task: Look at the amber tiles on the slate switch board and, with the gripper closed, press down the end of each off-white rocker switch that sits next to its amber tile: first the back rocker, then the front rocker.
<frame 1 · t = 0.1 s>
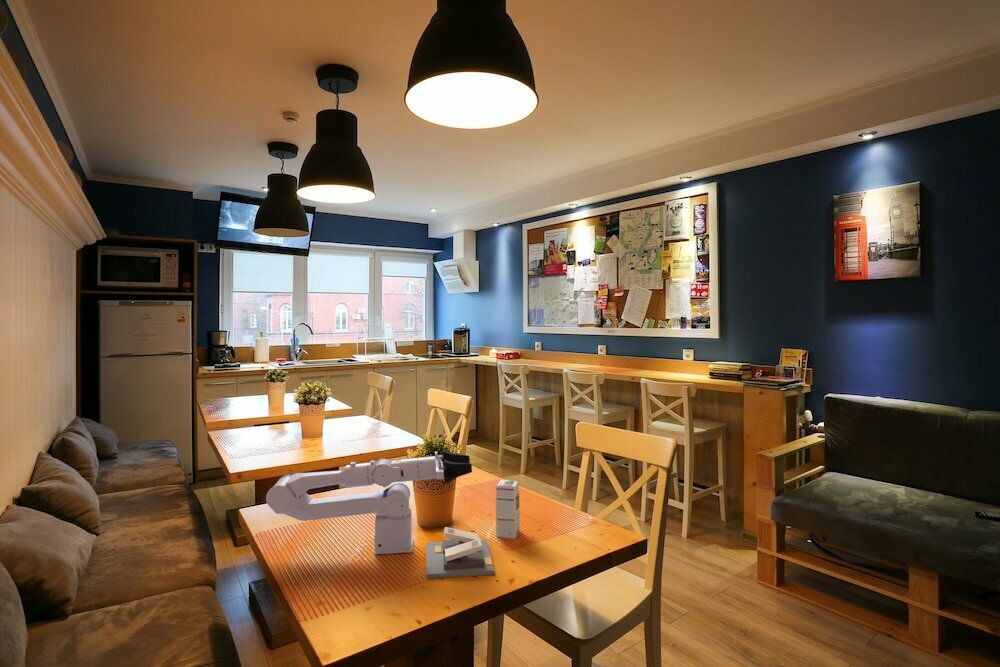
hand: (470, 463, 140), 22 cm above the table, tool horizontal, fingers open, 7 cm apart
front rocker: (463, 549, 127), point 4 cm above the table, hinge at -15.0°
back rocker: (461, 535, 135), point 4 cm above the table, hinge at 15.0°
switch board: (458, 559, 131), on the table
syrup box: (507, 534, 147), on the table
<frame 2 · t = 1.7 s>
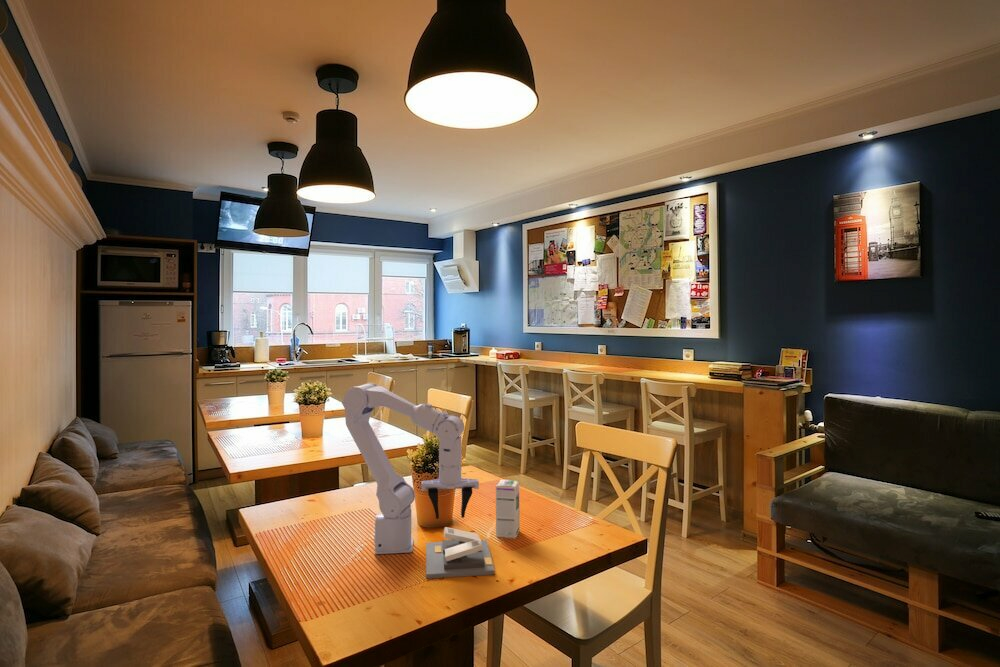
hand: (450, 516, 134), 9 cm above the table, tool pointing down, fingers open, 6 cm apart
nothing on the table moved.
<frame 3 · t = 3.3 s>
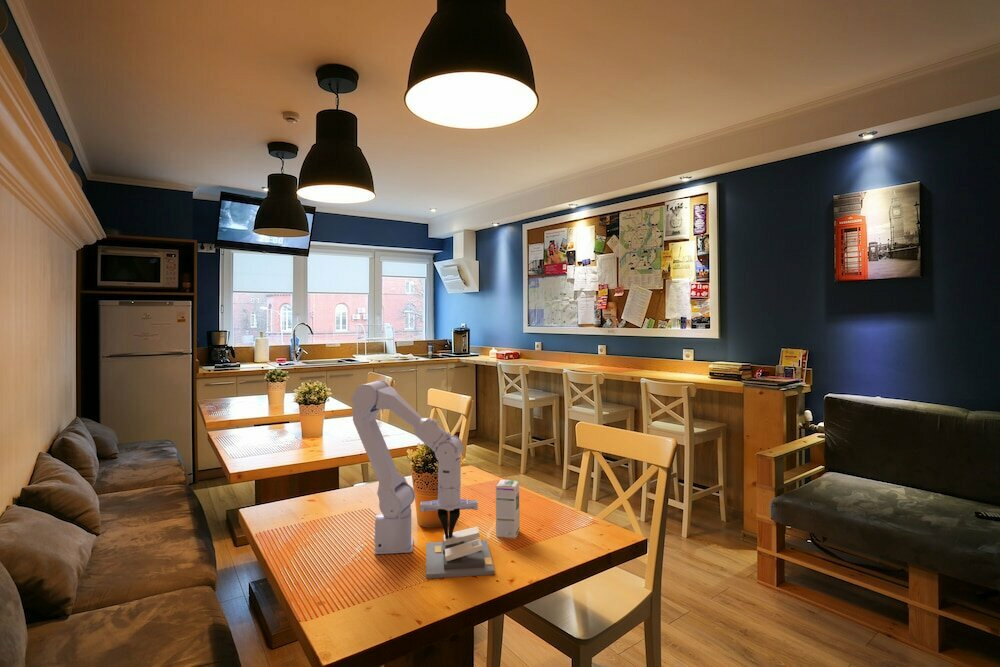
hand: (448, 537, 135), 4 cm above the table, tool pointing down, fingers closed, pressing on back rocker
back rocker: (461, 535, 135), point 4 cm above the table, hinge at -11.4°, touching gripper
everything else where it was.
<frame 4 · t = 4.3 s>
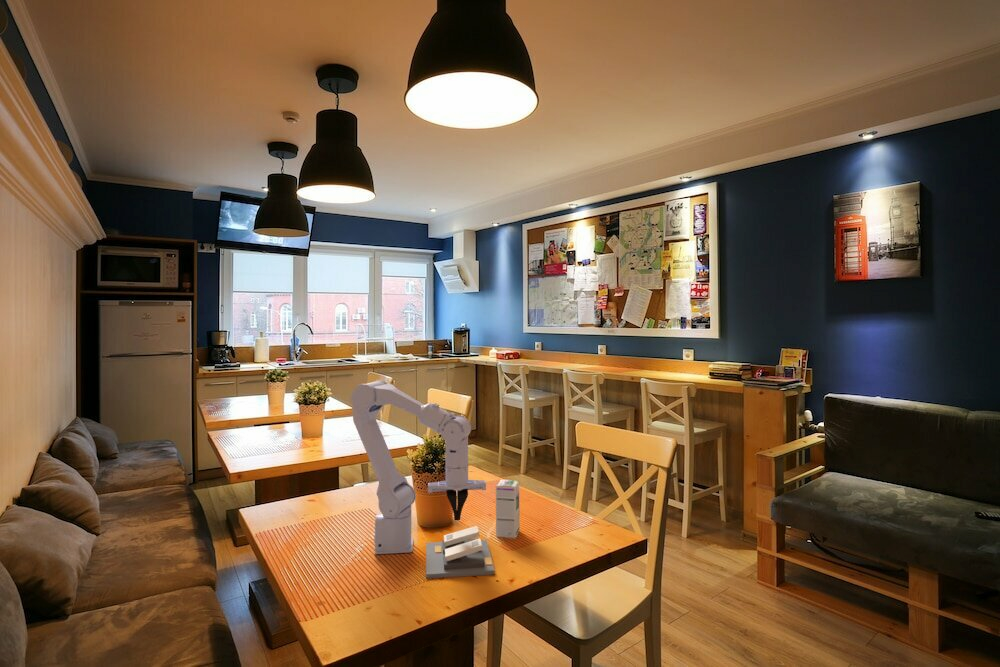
hand: (457, 518, 133), 10 cm above the table, tool pointing down, fingers closed
back rocker: (461, 535, 135), point 4 cm above the table, hinge at -14.0°
everything else where it was.
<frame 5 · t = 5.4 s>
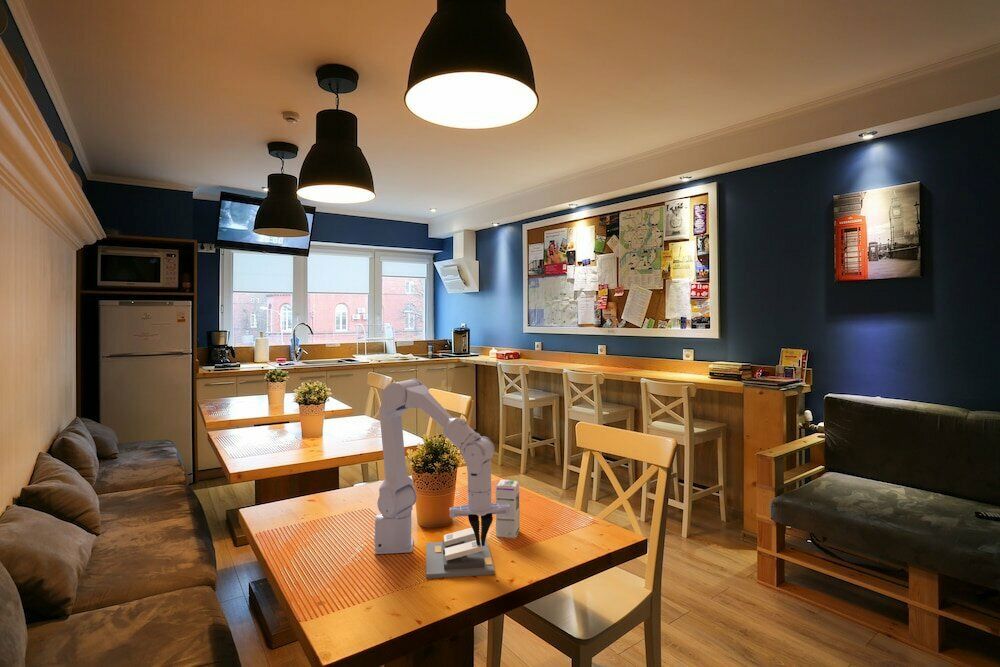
hand: (480, 544, 128), 5 cm above the table, tool pointing down, fingers closed, pressing on front rocker
front rocker: (463, 549, 127), point 4 cm above the table, hinge at -12.1°, touching gripper
back rocker: (461, 535, 135), point 4 cm above the table, hinge at -13.2°
everything else where it was.
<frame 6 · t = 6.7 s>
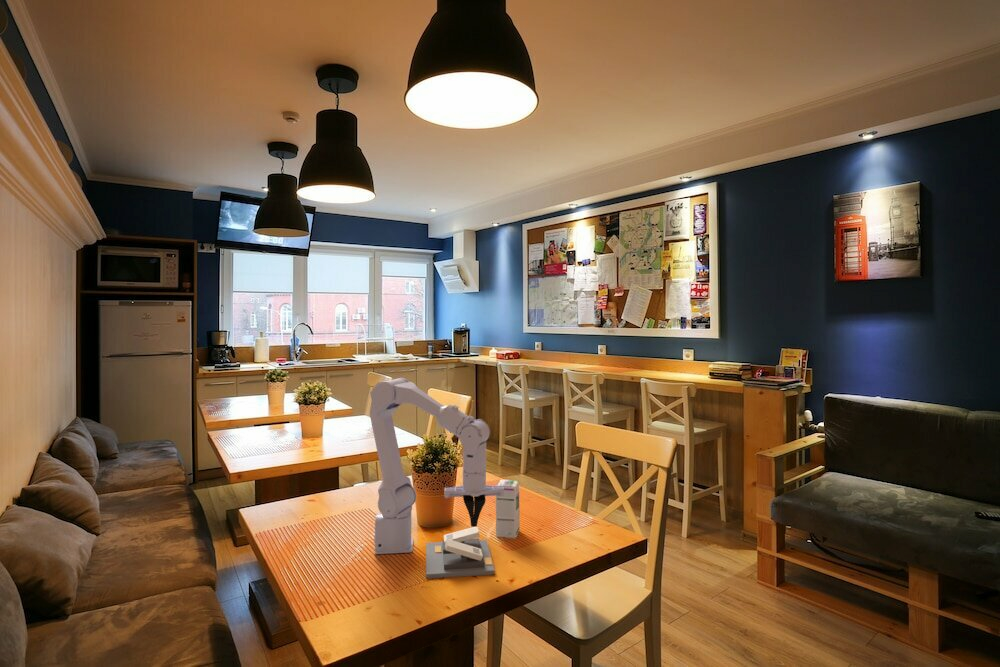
hand: (473, 525, 130), 9 cm above the table, tool pointing down, fingers closed
front rocker: (463, 549, 127), point 4 cm above the table, hinge at 19.7°
everything else where it was.
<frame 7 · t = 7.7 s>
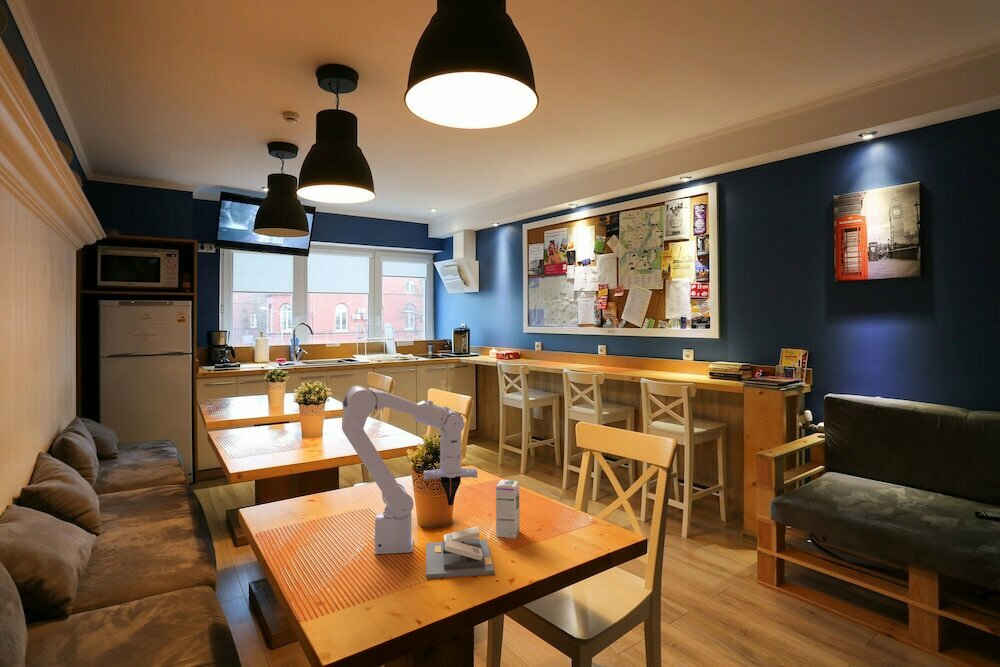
hand: (450, 504, 143), 9 cm above the table, tool pointing down, fingers closed
front rocker: (463, 549, 127), point 4 cm above the table, hinge at 18.9°
everything else where it was.
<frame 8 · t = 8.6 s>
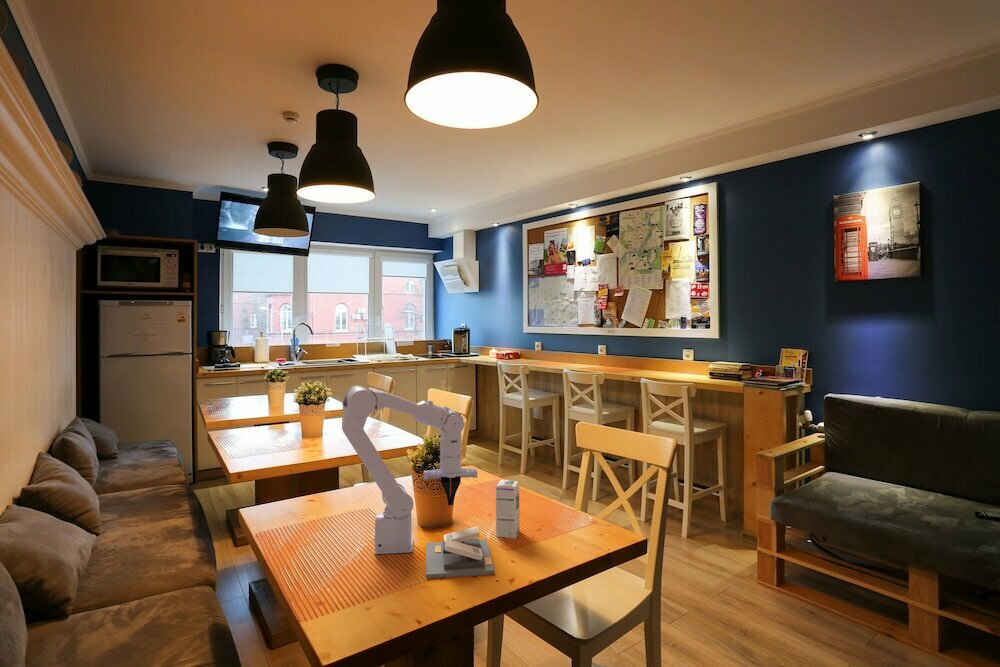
hand: (450, 504, 143), 9 cm above the table, tool pointing down, fingers closed
nothing on the table moved.
at the end: back rocker at -13° (first picture: +15°); front rocker at +19° (first picture: -15°) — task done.
